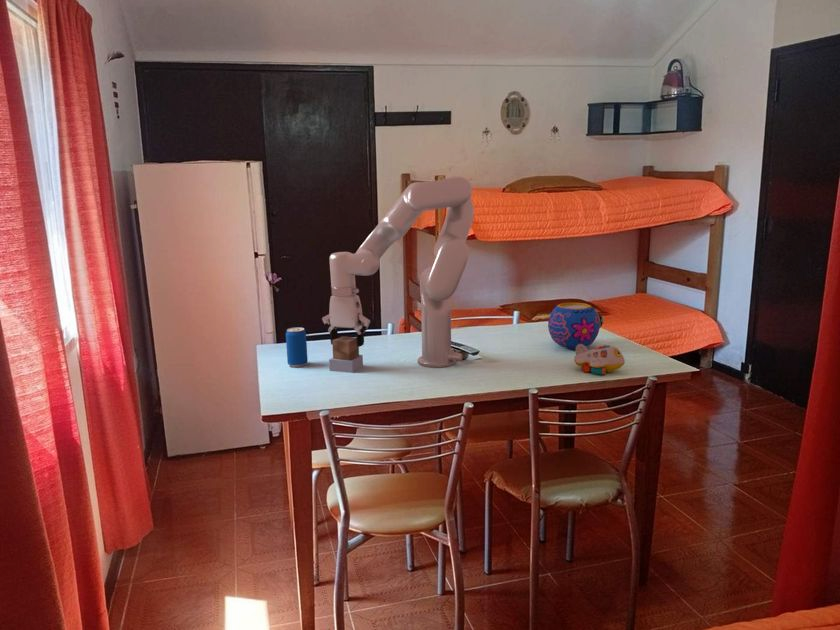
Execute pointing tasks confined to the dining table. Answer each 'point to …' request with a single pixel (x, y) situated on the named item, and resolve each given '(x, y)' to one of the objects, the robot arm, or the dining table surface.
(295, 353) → the beverage can
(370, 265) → the robot arm
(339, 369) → the base block
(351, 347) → the walnut cube
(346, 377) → the dining table surface
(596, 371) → the toy airplane
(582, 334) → the ceramic pot
